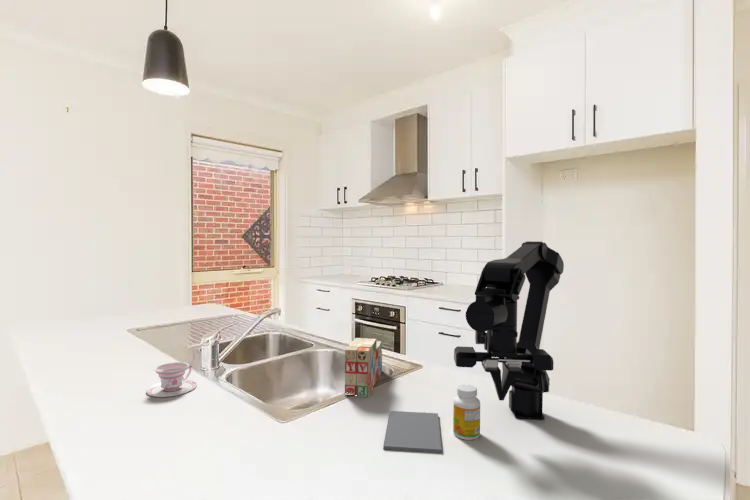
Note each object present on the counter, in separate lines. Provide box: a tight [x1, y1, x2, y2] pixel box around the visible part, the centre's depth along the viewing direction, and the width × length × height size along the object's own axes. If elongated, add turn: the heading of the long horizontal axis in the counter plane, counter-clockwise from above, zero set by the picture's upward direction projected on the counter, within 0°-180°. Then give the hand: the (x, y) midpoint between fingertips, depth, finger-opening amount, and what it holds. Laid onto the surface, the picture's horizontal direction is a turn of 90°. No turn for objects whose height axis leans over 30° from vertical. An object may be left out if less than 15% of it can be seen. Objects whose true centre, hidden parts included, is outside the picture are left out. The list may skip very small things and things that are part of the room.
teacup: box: [146, 361, 198, 398], centre depth 108 cm, size 12×12×6 cm
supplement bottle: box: [452, 383, 481, 441], centre depth 83 cm, size 5×5×10 cm
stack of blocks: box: [344, 337, 383, 398], centre depth 113 cm, size 21×6×12 cm, turn 170°
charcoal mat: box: [382, 410, 443, 454], centre depth 85 cm, size 11×16×1 cm
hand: (501, 399), depth 82 cm, fingers closed
